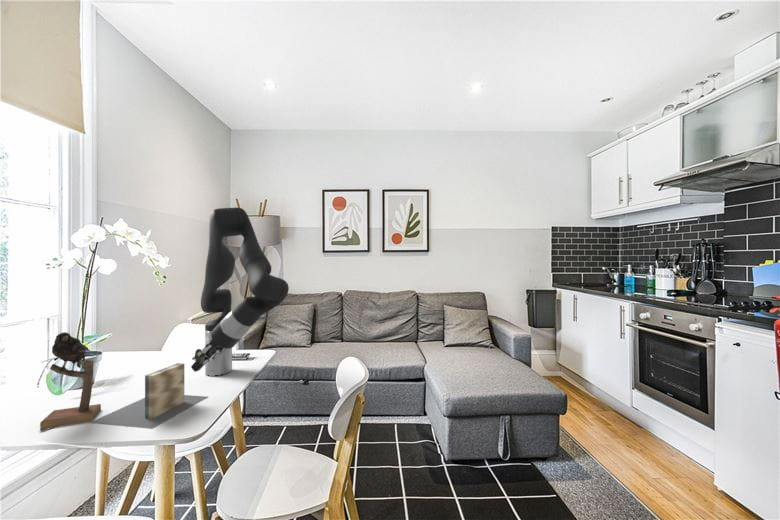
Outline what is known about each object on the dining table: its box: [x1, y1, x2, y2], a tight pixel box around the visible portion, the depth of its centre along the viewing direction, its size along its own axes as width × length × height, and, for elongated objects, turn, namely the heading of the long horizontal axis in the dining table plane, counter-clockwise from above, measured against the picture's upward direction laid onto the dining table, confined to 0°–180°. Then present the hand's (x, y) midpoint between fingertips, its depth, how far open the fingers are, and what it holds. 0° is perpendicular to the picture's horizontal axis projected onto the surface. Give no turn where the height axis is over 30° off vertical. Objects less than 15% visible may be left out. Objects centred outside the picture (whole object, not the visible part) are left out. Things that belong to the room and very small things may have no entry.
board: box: [144, 362, 185, 419], centre depth 104 cm, size 12×2×12 cm, turn 170°
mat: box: [89, 394, 209, 429], centre depth 105 cm, size 22×20×1 cm
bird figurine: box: [39, 332, 102, 431], centre depth 101 cm, size 11×14×25 cm
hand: (194, 368), depth 103 cm, fingers closed
